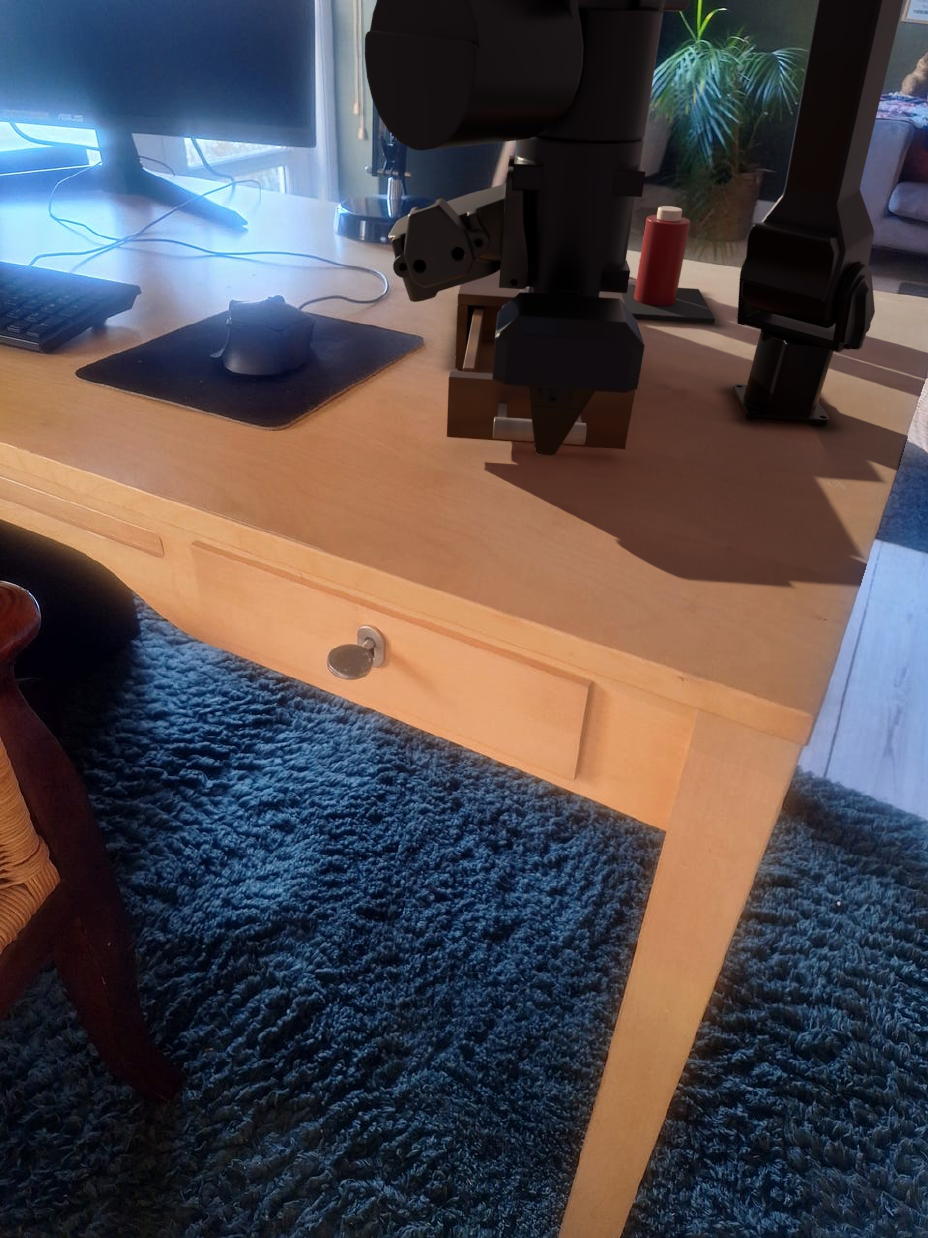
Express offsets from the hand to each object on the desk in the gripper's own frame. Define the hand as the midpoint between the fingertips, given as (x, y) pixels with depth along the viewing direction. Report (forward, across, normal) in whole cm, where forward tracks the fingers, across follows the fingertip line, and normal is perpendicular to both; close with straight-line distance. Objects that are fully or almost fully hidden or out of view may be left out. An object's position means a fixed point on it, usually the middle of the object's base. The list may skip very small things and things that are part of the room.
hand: (545, 452), depth 47 cm
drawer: (+5, -19, 0) cm, 19 cm away
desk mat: (+6, -51, +13) cm, 53 cm away
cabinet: (+6, -38, 0) cm, 38 cm away
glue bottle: (+5, -51, +13) cm, 53 cm away
